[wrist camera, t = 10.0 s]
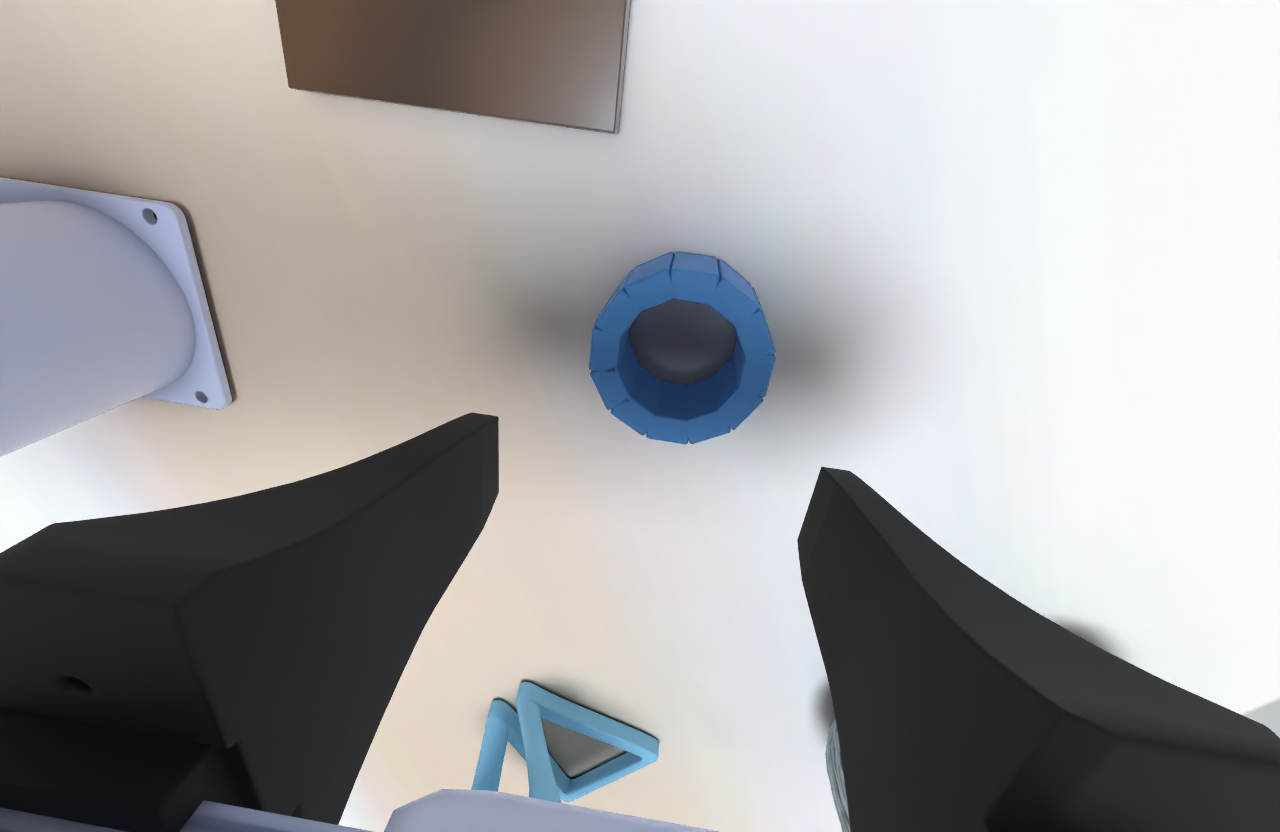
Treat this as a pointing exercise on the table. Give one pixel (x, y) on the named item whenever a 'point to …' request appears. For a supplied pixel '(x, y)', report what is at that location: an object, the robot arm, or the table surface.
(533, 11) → the brown square board
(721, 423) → the tape
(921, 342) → the table surface
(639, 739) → the chair
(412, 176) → the table surface
